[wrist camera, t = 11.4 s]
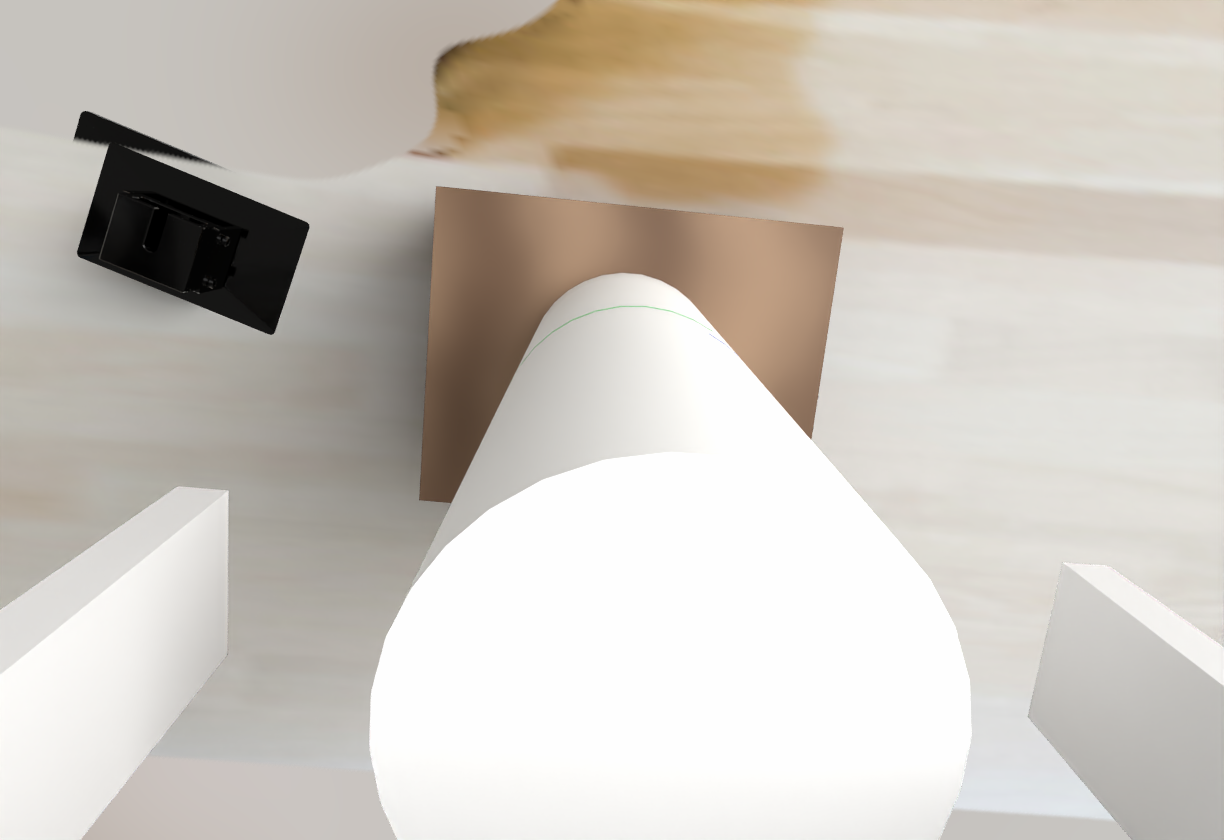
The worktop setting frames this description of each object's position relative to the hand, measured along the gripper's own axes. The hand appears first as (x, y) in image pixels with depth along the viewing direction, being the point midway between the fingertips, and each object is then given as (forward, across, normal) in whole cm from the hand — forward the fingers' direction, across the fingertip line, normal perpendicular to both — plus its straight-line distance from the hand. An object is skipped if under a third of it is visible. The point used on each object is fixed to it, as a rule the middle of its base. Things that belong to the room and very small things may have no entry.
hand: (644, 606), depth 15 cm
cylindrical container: (+22, 0, 0) cm, 22 cm away
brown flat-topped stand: (+29, +1, 0) cm, 29 cm away
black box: (+30, -19, +3) cm, 36 cm away
